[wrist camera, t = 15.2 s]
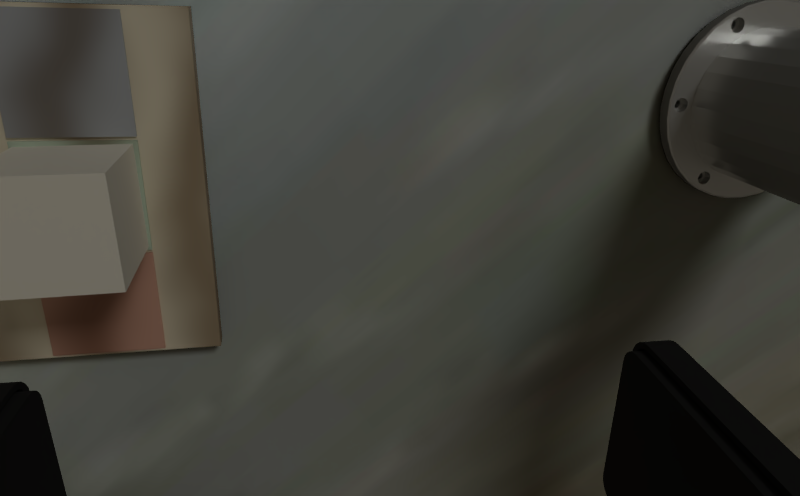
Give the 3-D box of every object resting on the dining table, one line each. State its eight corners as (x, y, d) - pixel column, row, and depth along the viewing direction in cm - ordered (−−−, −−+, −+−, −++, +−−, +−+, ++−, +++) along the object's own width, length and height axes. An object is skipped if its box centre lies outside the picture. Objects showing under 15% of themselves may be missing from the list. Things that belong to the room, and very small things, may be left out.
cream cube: (133, 143, 33) (104, 172, 28) (148, 246, 35) (125, 292, 30) (11, 146, 32) (-43, 178, 27) (35, 252, 34) (-10, 301, 29)
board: (190, 6, 32) (187, 6, 31) (222, 337, 40) (220, 346, 39) (-89, -2, 30) (-102, -1, 29) (1, 352, 37) (-7, 363, 36)
